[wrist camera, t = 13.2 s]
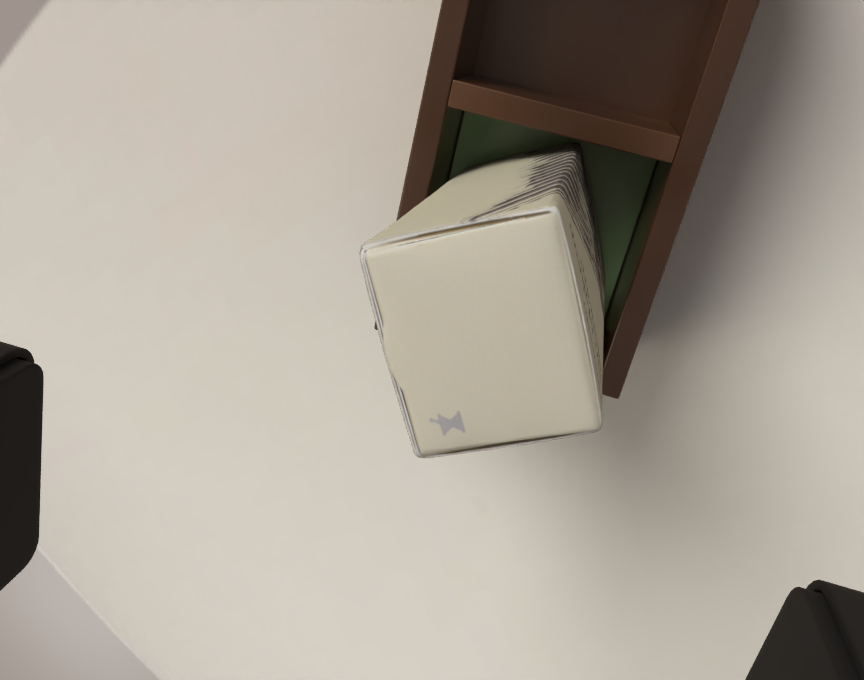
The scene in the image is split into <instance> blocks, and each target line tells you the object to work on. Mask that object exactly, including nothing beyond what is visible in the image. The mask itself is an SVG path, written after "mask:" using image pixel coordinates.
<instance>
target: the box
mask: <svg viewBox="0 0 864 680" xmlns="http://www.w3.org/2000/svg"><path fill="white" fill-rule="evenodd" d="M360 261H361V266H362V270H363V273H364V278H365V282H366V287H367V291H368V295H369V299H370V302H371V306H372V309H373V313H374V317H375V321H376V324H377V329H378V333H379V337H380V340H381V344H382V347H383V351H384V355H385V358H386V362H387V365H388V368H389V371H390V375H391V378H392V381H393V385H394V388H395V392H396V395H397V399H398V402H399V405H400V409H401V412H402V415H403V419H404V422H405V425H406V428H407V431H408V435H409V438H410V441H411V444H412V448H413V451H414V453H415V455H416V456H417V457H420V458H434V457H441V456H447V455H455V454H462V453H468V452H477V451H485V450H491V449H498V448H504V447H511V446H518V445H525V444H530V443H536V442H541V441H548V440H555V439H561V438H566V437H572V436H578V435H583V434H588V433H593V432H596V431H598V430H599V429H600V428H601V426H602V374H603V336H604V301H605V269H604V263H603V256H602V249H601V243H600V237H599V231H598V226H597V220H596V214H595V208H594V202H593V198H592V193H591V188H590V184H589V179H588V175H587V170H586V165H585V161H584V156H583V152H582V147H581V144H580V143H579V142H577V141H576V142H570V143H565V144H560V145H555V146H550V147H546V148H541V149H536V150H532V151H527V152H522V153H518V154H514V155H510V156H506V157H502V158H498V159H494V160H490V161H487V162H483V163H480V164H476V165H473V166H470V167H467V168H465V169H464V170H462V171H461V172H460V173H458V174H457V175H456V176H455V177H453V178H452V179H451V180H449V181H448V182H447V183H445V184H444V185H443V186H442V187H441V188H439V189H438V190H437V191H436V192H434V193H433V194H432V195H430V196H429V197H428V198H426V199H425V200H424V201H422V202H421V203H420V204H418V205H417V206H416V207H414V208H413V209H412V210H410V211H409V212H408V213H406V214H405V215H404V216H402V217H401V218H400V219H399V220H397V221H396V222H395V223H393V224H392V225H391V226H389V227H388V228H387V229H386V230H384V231H383V232H381V233H380V234H378V235H377V236H375V237H373V238H372V239H370V240H369V241H367V242H365V243H364V244H363V245H362V246H361V250H360Z"/></svg>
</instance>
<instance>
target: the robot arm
mask: <svg viewBox="0 0 864 680" xmlns="http://www.w3.org/2000/svg"><path fill="white" fill-rule="evenodd" d="M42 411H43V371H42V369H41V367H40V366H39V365H37V364H34V359H33V356H32V354H31V353H30V352H29V351H28V350H27V349H24V348H20V347H17V346H14V345H10V344H7V343H3V342H0V590H2V589H3V588H4V587H5V586H6V585H7V584H8V583H9V582H10V581H11V580H12V579H13V578H14V577H15V576H16V575H17V574H18V573H19V572H21V570H22V569H24V567H25V566H26V565H27V564H28V563H29V561H30V560H31V558H32V557H33V555H34V552H35V550H36V547H37V544H38V539H39V515H40V480H41V445H42ZM745 680H864V593H863V592H860V591H856V590H853V589H849V588H846V587H843V586H839V585H836V584H832V583H829V582H825V581H822V580H816V581H813V582H812V583H811V584H810V585H808V587H807V588H806V589H804V588H801V587H796V588H794V589H793V590H792V591H791V592H790V593H789V595H788V597H787V598H786V600H785V602H784V604H783V606H782V608H781V610H780V612H779V614H778V616H777V618H776V620H775V622H774V624H773V626H772V628H771V630H770V632H769V634H768V636H767V638H766V640H765V642H764V644H763V646H762V648H761V650H760V652H759V654H758V656H757V658H756V660H755V662H754V664H753V666H752V668H751V670H750V672H749V673H748V675H747V677H746V679H745Z"/></svg>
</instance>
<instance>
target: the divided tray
mask: <svg viewBox="0 0 864 680" xmlns="http://www.w3.org/2000/svg"><path fill="white" fill-rule="evenodd" d="M759 1H760V0H442V4H441V9H440V13H439V18H438V23H437V28H436V33H435V37H434V42H433V47H432V52H431V57H430V62H429V66H428V71H427V76H426V81H425V86H424V90H423V95H422V100H421V105H420V110H419V115H418V119H417V124H416V129H415V134H414V139H413V143H412V148H411V153H410V158H409V163H408V167H407V172H406V177H405V182H404V187H403V192H402V196H401V201H400V206H399V211H398V216H397V220H399V219H400V218H401V217H402V216H404V215H405V214H406V213H408V212H409V211H410V210H412V209H413V208H414V207H416V206H417V205H418V204H420V203H421V202H422V201H424V200H425V199H426V198H428V197H429V196H430V195H432V194H433V193H434V192H436V191H437V190H438V189H439V188H441V187H442V186H443V185H444V184H445V183H447V182H448V181H449V180H451V179H452V178H453V177H455V176H456V175H457V174H458V173H460V172H461V171H462V170H464V169H465V168H467V167H470V166H473V165H476V164H480V163H483V162H487V161H490V160H494V159H498V158H502V157H506V156H510V155H514V154H518V153H522V152H527V151H532V150H536V149H541V148H546V147H550V146H555V145H560V144H565V143H570V142H576V141H577V142H579V143H580V144H581V147H582V152H583V156H584V161H585V165H586V170H587V175H588V179H589V184H590V188H591V193H592V198H593V202H594V208H595V214H596V220H597V226H598V231H599V237H600V243H601V249H602V256H603V263H604V269H605V301H604V336H603V374H602V394H603V395H606V396H610V397H613V398H617V399H618V398H619V396H620V393H621V391H622V388H623V385H624V382H625V379H626V377H627V374H628V371H629V368H630V365H631V362H632V360H633V357H634V354H635V351H636V348H637V345H638V343H639V340H640V337H641V334H642V331H643V329H644V326H645V323H646V320H647V317H648V314H649V312H650V309H651V306H652V303H653V300H654V298H655V295H656V292H657V289H658V286H659V283H660V281H661V278H662V275H663V272H664V269H665V266H666V264H667V261H668V258H669V255H670V252H671V250H672V247H673V244H674V241H675V238H676V235H677V233H678V230H679V227H680V224H681V221H682V219H683V216H684V213H685V210H686V207H687V204H688V202H689V199H690V196H691V193H692V190H693V187H694V185H695V182H696V179H697V176H698V173H699V171H700V168H701V165H702V162H703V159H704V156H705V154H706V151H707V148H708V145H709V142H710V140H711V137H712V134H713V131H714V128H715V125H716V123H717V120H718V117H719V114H720V111H721V108H722V106H723V103H724V100H725V97H726V94H727V92H728V89H729V86H730V83H731V80H732V77H733V75H734V72H735V69H736V66H737V63H738V61H739V58H740V55H741V52H742V49H743V46H744V44H745V41H746V38H747V35H748V32H749V29H750V27H751V24H752V21H753V18H754V15H755V13H756V10H757V7H758V4H759ZM397 220H396V221H397ZM374 327H375V329H376V330H378V329H377V324H376V322H375V326H374Z"/></svg>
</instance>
